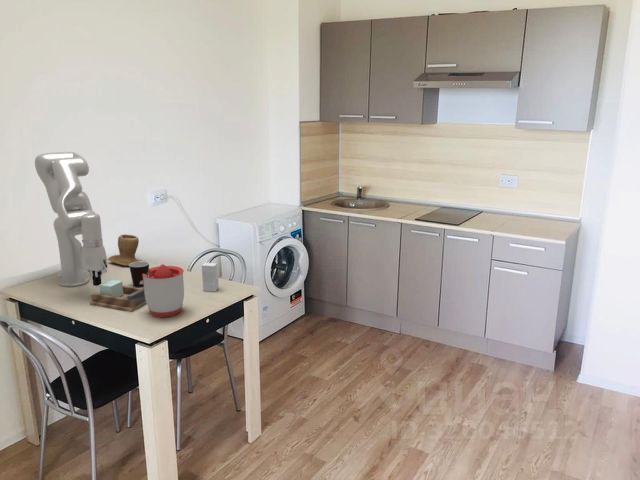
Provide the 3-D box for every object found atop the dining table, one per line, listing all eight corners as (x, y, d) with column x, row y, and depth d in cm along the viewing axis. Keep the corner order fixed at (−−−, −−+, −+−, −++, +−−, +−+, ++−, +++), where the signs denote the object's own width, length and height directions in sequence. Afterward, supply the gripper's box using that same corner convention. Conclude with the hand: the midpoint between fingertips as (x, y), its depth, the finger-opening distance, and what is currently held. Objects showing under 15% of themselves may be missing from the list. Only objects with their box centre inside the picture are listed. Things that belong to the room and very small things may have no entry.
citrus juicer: (150, 303, 223) (147, 257, 218) (191, 305, 221) (188, 259, 216) (134, 318, 208) (130, 269, 203) (177, 320, 206) (174, 271, 201)
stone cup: (145, 263, 277) (143, 235, 273) (124, 268, 267) (122, 239, 263) (127, 258, 285) (125, 230, 281) (107, 263, 276) (104, 235, 272)
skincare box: (218, 288, 241) (217, 263, 238) (215, 291, 237) (214, 266, 234) (205, 287, 242) (204, 262, 239) (202, 291, 238) (201, 265, 235)
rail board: (89, 304, 221) (88, 290, 219) (116, 292, 235) (115, 278, 234) (131, 312, 214) (130, 297, 212) (156, 298, 228) (155, 284, 227)
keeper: (100, 298, 224) (99, 284, 223) (112, 292, 230) (110, 279, 229) (112, 300, 222) (110, 286, 221) (123, 294, 228) (122, 281, 227)
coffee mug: (144, 289, 240) (142, 267, 237) (127, 287, 241) (125, 266, 239) (157, 280, 251) (155, 260, 248) (140, 279, 252) (138, 258, 250)
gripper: (71, 243, 222) (76, 285, 227) (100, 247, 217) (105, 289, 222) (85, 239, 229) (89, 280, 233) (113, 242, 224) (117, 284, 228)
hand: (97, 284), depth 227 cm, fingers closed
